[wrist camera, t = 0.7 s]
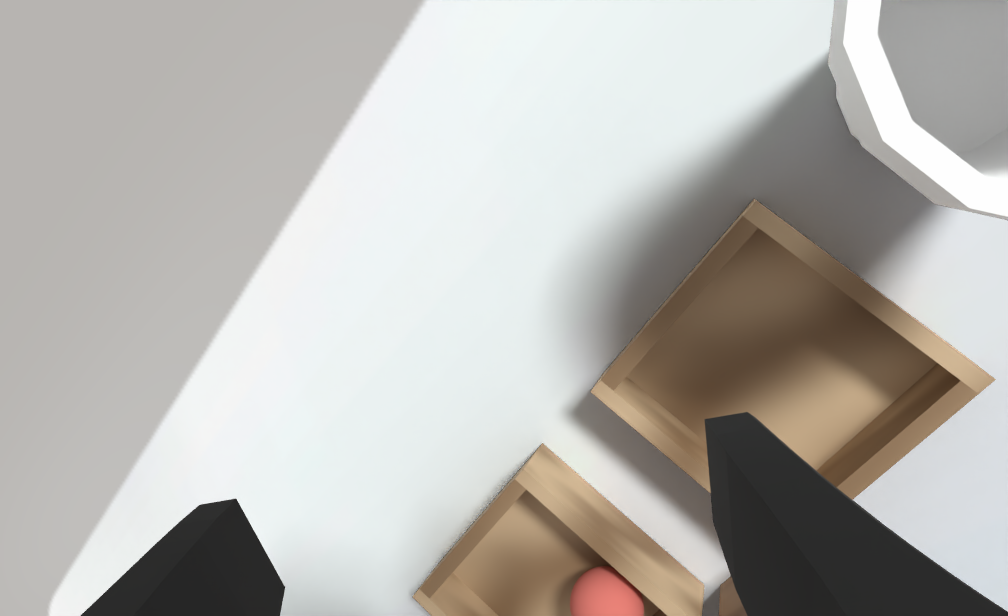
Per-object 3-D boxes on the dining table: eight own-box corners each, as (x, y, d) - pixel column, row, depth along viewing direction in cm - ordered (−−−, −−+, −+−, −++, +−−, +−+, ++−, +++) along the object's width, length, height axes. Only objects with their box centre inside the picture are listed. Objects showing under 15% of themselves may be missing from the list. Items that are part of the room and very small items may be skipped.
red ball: (663, 588, 30) (654, 635, 27) (618, 628, 31) (605, 678, 28) (607, 538, 30) (592, 579, 27) (565, 579, 31) (547, 624, 28)
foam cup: (808, 226, 25) (872, 268, 13) (774, -12, 24) (810, -203, 12) (1110, 173, 22) (1573, 165, 10) (1087, -109, 20) (1580, -517, 8)
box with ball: (704, 585, 29) (700, 626, 27) (577, 695, 33) (562, 742, 30) (542, 443, 31) (523, 468, 28) (438, 563, 35) (412, 596, 32)
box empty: (966, 356, 24) (995, 379, 21) (780, 518, 28) (784, 556, 25) (754, 198, 26) (755, 200, 23) (604, 371, 29) (590, 391, 26)
